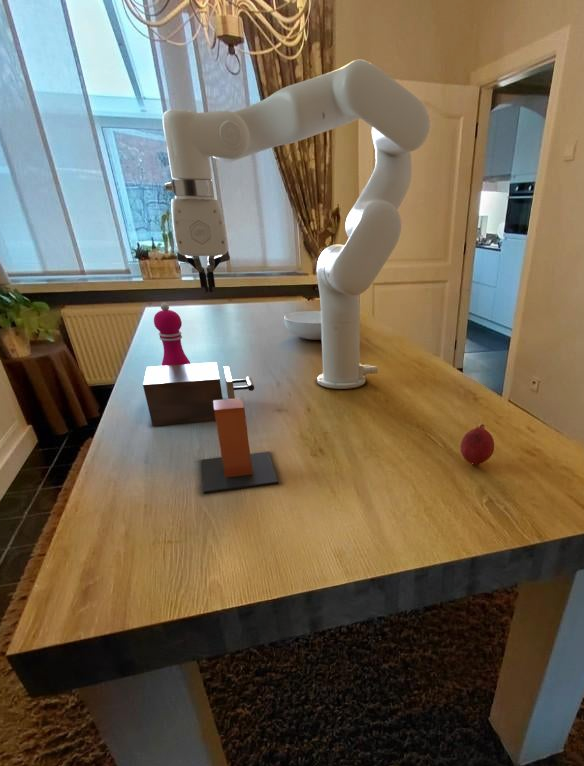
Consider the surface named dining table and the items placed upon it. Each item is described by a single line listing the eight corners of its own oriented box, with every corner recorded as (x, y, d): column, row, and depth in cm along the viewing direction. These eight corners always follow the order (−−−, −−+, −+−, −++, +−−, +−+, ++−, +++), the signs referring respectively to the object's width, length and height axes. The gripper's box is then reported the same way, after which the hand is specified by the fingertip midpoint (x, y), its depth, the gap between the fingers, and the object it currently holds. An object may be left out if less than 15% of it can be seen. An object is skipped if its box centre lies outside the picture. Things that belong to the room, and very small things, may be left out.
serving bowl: (344, 345, 161) (344, 323, 158) (280, 344, 161) (279, 322, 158) (347, 331, 179) (347, 310, 175) (290, 330, 179) (288, 310, 175)
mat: (268, 453, 92) (268, 451, 92) (278, 483, 82) (278, 481, 82) (202, 461, 89) (201, 459, 89) (203, 493, 79) (203, 491, 79)
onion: (483, 476, 86) (490, 433, 81) (453, 467, 88) (458, 425, 84) (495, 463, 90) (502, 422, 86) (465, 455, 92) (471, 415, 88)
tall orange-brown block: (250, 462, 88) (241, 397, 81) (252, 474, 84) (244, 407, 78) (223, 466, 87) (212, 400, 80) (225, 478, 83) (214, 410, 77)
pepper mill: (186, 394, 119) (170, 306, 108) (159, 392, 120) (140, 304, 109) (201, 385, 125) (186, 300, 114) (175, 383, 126) (158, 299, 115)
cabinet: (222, 399, 116) (216, 362, 112) (225, 419, 106) (219, 378, 101) (155, 405, 113) (146, 366, 108) (152, 426, 102) (142, 384, 98)
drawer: (252, 393, 117) (248, 364, 114) (257, 410, 108) (254, 379, 104) (172, 400, 113) (165, 370, 109) (170, 419, 103) (163, 386, 100)
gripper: (152, 190, 92) (172, 295, 102) (234, 191, 96) (245, 293, 106) (154, 190, 98) (172, 290, 108) (231, 191, 102) (242, 288, 112)
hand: (208, 291), depth 107 cm, fingers closed
